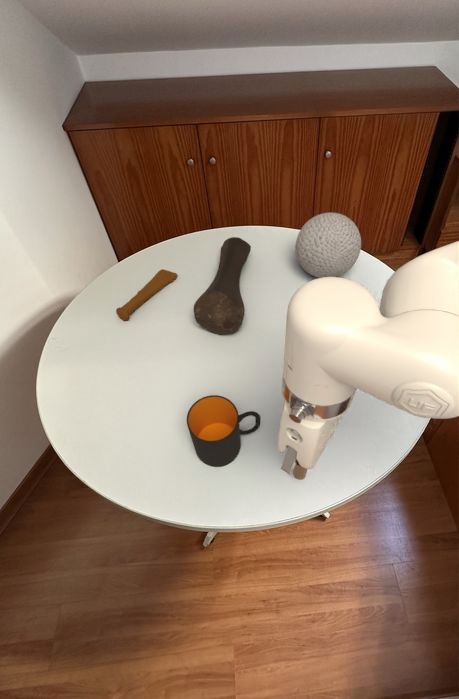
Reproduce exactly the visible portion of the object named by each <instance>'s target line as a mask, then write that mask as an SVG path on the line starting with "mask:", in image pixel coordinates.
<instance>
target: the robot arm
mask: <svg viewBox="0 0 459 699" xmlns="http://www.w3.org/2000/svg"><path fill="white" fill-rule="evenodd" d="M284 335H285V336H284V349H283V350H284V352H283V366H282V379H281V380H282V381H281V394H282V398H283V400H284V405H283V410H282V413H281V417H280V422H279V427H278V432H277V445H276V447H277V451H278V452H279V454H283V453H284V452H285V454H284V458H283V460H282V463H281V466H280V470H283V472H285V473H287V474H291V473H292V471H294V467H295V465H296V464H297V465H298V466H302V467H304V468H306V469H307V470H311V469H313V468H314V467H315V466H316V465H317V463H318V462H319V460H320V458H321V456H322V454H323V453H324V450H325V449H326V447H327V445H328V444H329V441H330V440H331V438H332V436H333V435H334V432H335V431H336V429H337V427H338V425H339V423H340V421H341V420H342V417H343V416H344V414H346V412H347V411H348V410H349V409H350V407H351V405H352V402H353V400H354V396H355V394H356V391H357V390H359V391H362V392H364V393H365V394H367V395H369V396H372V397H373V398H375V399H377V400H380V401H382V402H383V403H385V404H388V405H390V406H392V407H395V408H396V409H398V410H401V411H403V412H405V413H408V414H410V415H412V416H415V417H418V418H424V419H434V420H438V419H439V420H445V419H446V420H447V419H453V418H457V417H459V240H457V241H454V242H451V243H448V244H446V245H444V246H440V247H438V248H435V249H432V250H429V251H427V252H425V253H423V254H420V255H418V256H417V257H414V258H413V259H411V260H409V261H407V262H405V264H403V265H402V266H400V267H399V268H398V269H396V270H395V271H394V272H393V273H392V274H391V276H390V277H388V280H387V281H386V282H385V285H384V287H383V289H382V293H381V298H380V303H378V301H377V299H376V298H375V296H374V295H373V292H371V290H369V289H368V288H367V287H365V286H364V285H363V284H361V283H359V282H358V281H355V280H353V279H350V278H345V277H340V276H337V277H322V278H319V277H317V278H314V279H311V280H308V281H307V282H306V283H304V284H302V285H301V286H300V287H298V288H297V289H296V291H295V292H294V293H293V295H292V296H291V297H290V299H289V302H288V305H287V310H286V320H285V334H284Z"/></svg>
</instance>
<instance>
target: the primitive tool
mask: <svg viewBox="0 0 459 699" xmlns="http://www.w3.org/2000/svg"><path fill="white" fill-rule="evenodd" d="M178 276H179V275H178V273H177V272H173V271H171V270H167V269H164V268H163V269H160V270H158V271H157V272H156V273H155V275H154V276H153V277H152V278H151V279H150V280H149V281H148V282H147V283H146V284H145V285H144V286H143V287H142V288H141V289H140V290H138V291H137V293H136V294H135V295H134V296H133V297H132V298H130V300H128V301H127V302H126V303H125V304H123V305H122V306H121V307H117V308H116V310H115V313H116V315H117V316H118V318H119V319H120V320H122V321H125V322H127V321H128V320H129V318H130V316H131V314H132V313H133V312H134V311H136V310H137V309H138V308H139V307H141V306H142V305H143V304H146V302H147V301H148V300H149V299H151V297H153V296H154V295H156V294H157V293H158V292H160V291H161V290H163V289H164V288H165V287H166V286H168V285H169V284H170V283H172V282H173V281H175V280H176V279H177V278H178Z"/></svg>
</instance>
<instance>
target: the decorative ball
mask: <svg viewBox="0 0 459 699" xmlns="http://www.w3.org/2000/svg"><path fill="white" fill-rule="evenodd" d="M361 250H362V236H361V233H360V231H359V228H358V226H357V225H356V224H355V222H354V221H353V220H352V219H350V218H349V217H348V216H346V215H344V214H342V213H338V212H323V213H320V214H317V215H314V216H313V217H311V218H310V219H308V220H307V221H306V222H305V223H304V225H303V226H302V227H301V229H300V230H299V232H298V234H297V238H296V241H295V255H296V258H297V260H298V261H297V262H298V263H299V265H300V266H301V267H302V269H303V270H304V271H305V272H307V273H308V274H309V275H311V276H313V277H315V278H322V277H340V276H341V275H343V274H345V273H346V272H348V271H349V270H350V269H352V267H353V266H354V265H355V264H356V262H357V260H358V258H359V257H360V254H361Z"/></svg>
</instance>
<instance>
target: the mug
mask: <svg viewBox="0 0 459 699" xmlns="http://www.w3.org/2000/svg"><path fill="white" fill-rule="evenodd" d="M247 417H254V420H255V424H254V425H253V427H251V428H249V429H245V430H243V429H241V426H240V425H241V424H240V423H241V422H242V421H244V419H245V418H247ZM186 426H187V429H188V432H189V436H190V439H191V442H192V444H193V448H194V451H195V454H196V456H197V458H198V459H199V460H200V461H201V463H203V464H205V465H207V466H209V467H213V468H220V467H225V466H227V465H229V464H231V463H233V462H235V460H236V458H238V456H239V454H240V451H241V448H242V438H241V436H245V435H249V434H252V433H254V432H256V431H257V430H258V429H259V428H260V426H261V415H260V413H258V412H257V411H253V410H250V411H249V410H248V411H246V412H243V413H240V414H239V411H238V408H237V406H236V405H235V404H234V402H233V401H232V400H230V399H229V398H227V397H225V396H222V395H216V394H212V395H206V396H203V397H201V398H199V399H198V400H196V401H195V402H193V404H192V405H191V406H190V408H189V409H188V411H187V415H186Z"/></svg>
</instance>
